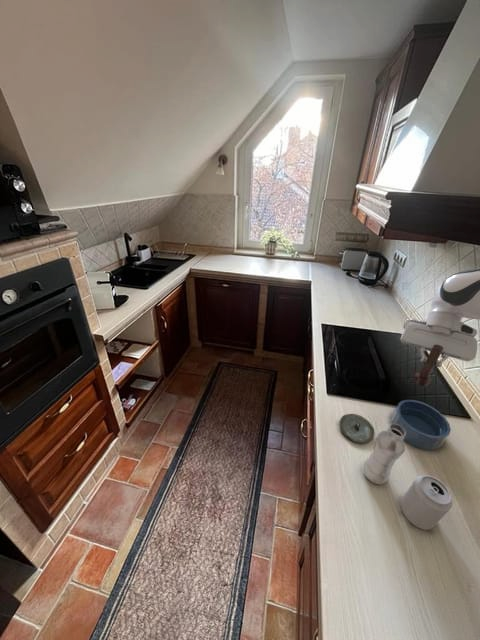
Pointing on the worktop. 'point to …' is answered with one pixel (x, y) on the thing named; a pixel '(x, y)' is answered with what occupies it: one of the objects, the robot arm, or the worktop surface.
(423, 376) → the stirring stick
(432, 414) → the bowl
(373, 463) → the plastic bottle
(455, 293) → the robot arm
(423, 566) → the worktop surface
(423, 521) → the can
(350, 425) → the lid
